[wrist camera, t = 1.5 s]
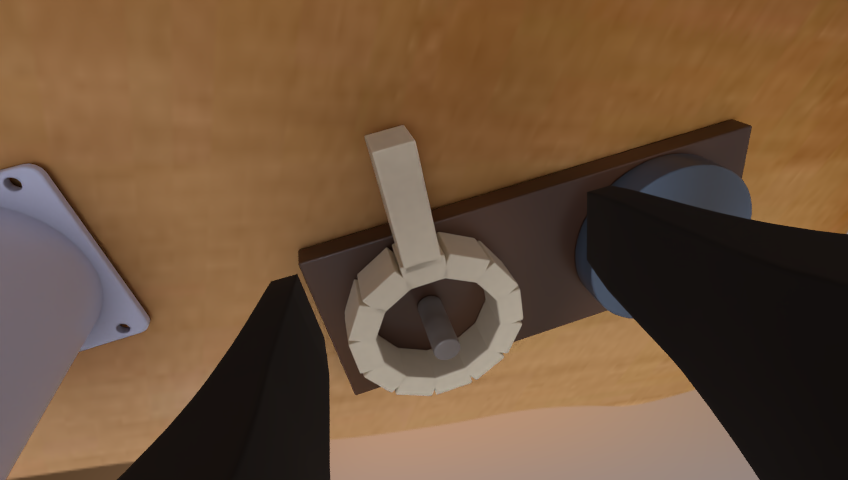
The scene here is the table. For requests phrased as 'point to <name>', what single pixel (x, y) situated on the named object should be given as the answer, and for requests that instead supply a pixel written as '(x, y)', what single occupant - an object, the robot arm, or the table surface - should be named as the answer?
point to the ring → (418, 265)
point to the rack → (529, 243)
